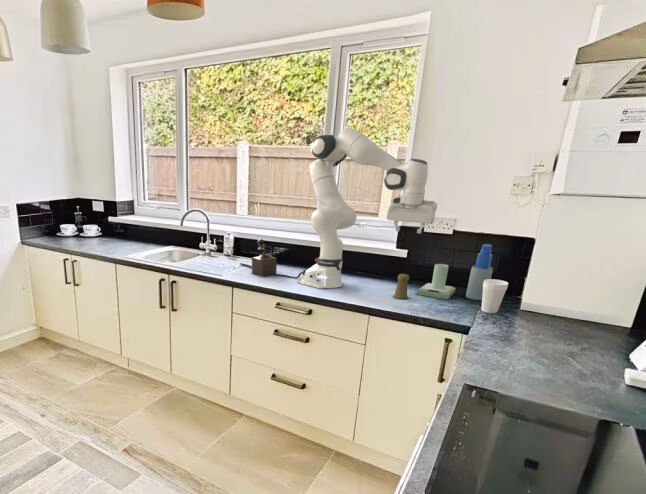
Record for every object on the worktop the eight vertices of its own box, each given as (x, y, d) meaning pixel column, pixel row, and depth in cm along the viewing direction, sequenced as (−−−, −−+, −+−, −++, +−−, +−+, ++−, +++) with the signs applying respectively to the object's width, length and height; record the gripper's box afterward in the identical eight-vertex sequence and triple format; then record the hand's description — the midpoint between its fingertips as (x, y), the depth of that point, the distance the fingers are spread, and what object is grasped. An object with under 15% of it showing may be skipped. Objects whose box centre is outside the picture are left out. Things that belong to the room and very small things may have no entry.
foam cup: (499, 308, 203) (506, 280, 198) (503, 315, 195) (510, 285, 190) (476, 306, 206) (482, 278, 200) (478, 312, 198) (485, 283, 192)
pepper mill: (277, 274, 259) (279, 242, 252) (262, 277, 253) (263, 244, 246) (260, 269, 270) (261, 238, 263) (245, 271, 264) (246, 240, 257)
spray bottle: (469, 293, 225) (480, 242, 215) (488, 297, 219) (500, 244, 209) (463, 297, 219) (473, 244, 209) (482, 301, 213) (494, 247, 203)
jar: (429, 287, 223) (433, 265, 218) (433, 285, 227) (437, 263, 223) (442, 289, 219) (446, 267, 215) (445, 287, 224) (449, 265, 219)
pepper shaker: (405, 295, 221) (409, 273, 217) (408, 299, 215) (412, 276, 211) (392, 294, 221) (396, 272, 217) (395, 298, 216) (398, 275, 212)
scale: (417, 294, 223) (418, 288, 222) (425, 288, 234) (426, 282, 232) (447, 299, 216) (448, 293, 214) (454, 292, 226) (456, 286, 225)
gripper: (439, 200, 194) (434, 233, 200) (392, 197, 205) (388, 229, 211) (435, 201, 190) (430, 235, 195) (387, 198, 201) (383, 230, 206)
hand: (407, 232), depth 203 cm, fingers open, 8 cm apart
